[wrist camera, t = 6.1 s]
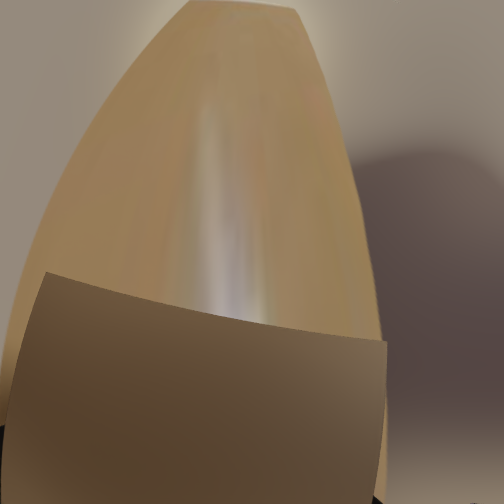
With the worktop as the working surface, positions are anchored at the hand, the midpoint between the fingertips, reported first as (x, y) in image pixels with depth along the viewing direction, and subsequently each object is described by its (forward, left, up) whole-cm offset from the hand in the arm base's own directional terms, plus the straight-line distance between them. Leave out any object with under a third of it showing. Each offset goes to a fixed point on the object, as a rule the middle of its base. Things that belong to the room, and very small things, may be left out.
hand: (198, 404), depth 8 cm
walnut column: (-1, -1, -7) cm, 7 cm away
